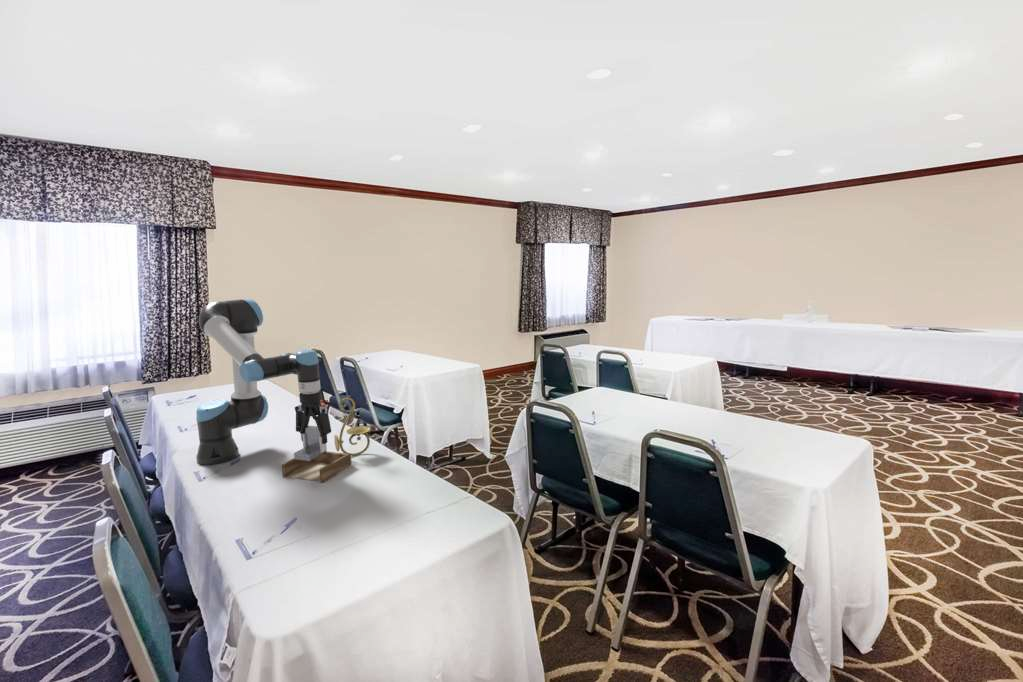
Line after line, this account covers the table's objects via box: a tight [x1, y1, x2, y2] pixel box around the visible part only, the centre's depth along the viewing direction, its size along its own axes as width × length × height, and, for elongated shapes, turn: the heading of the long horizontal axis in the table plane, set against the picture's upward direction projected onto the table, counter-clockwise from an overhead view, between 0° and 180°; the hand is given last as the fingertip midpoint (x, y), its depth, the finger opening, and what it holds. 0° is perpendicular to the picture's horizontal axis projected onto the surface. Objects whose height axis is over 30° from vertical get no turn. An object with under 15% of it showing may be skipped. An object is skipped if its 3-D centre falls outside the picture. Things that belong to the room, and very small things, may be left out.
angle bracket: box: [293, 425, 327, 461], centre depth 186 cm, size 9×7×10 cm
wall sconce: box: [333, 397, 371, 457], centre depth 204 cm, size 14×10×25 cm
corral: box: [281, 450, 352, 484], centre depth 191 cm, size 18×16×5 cm
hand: (315, 450), depth 189 cm, fingers closed on angle bracket, 7 cm apart
